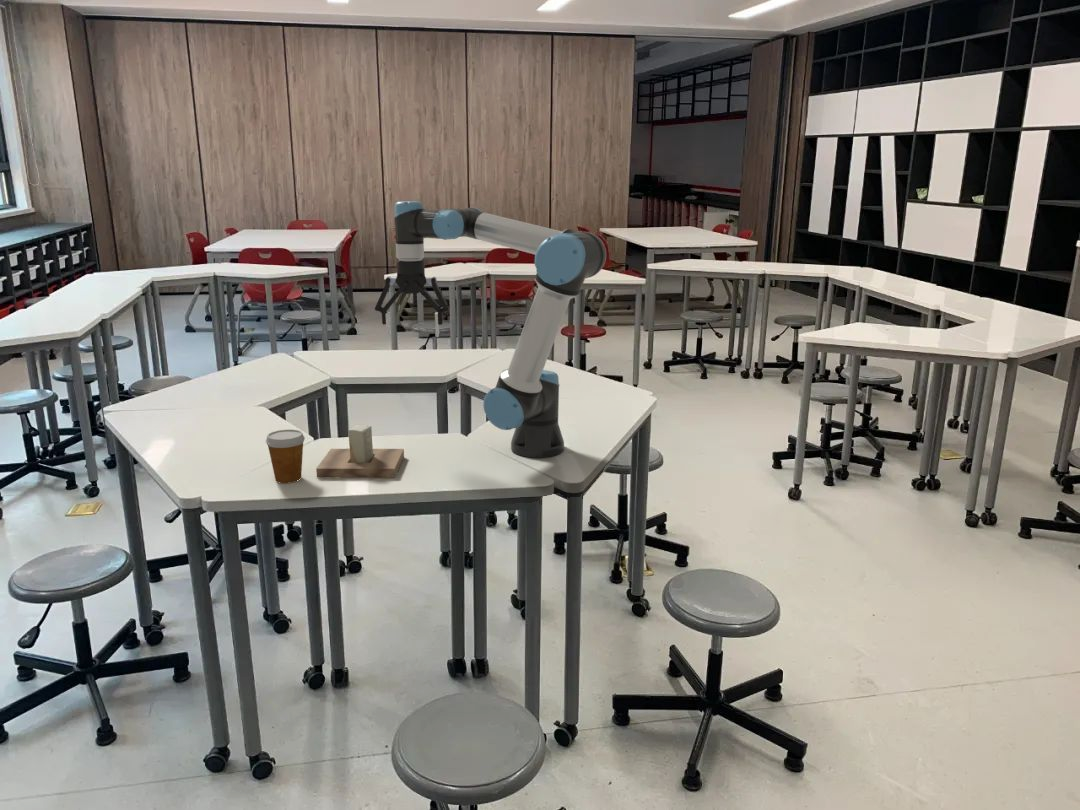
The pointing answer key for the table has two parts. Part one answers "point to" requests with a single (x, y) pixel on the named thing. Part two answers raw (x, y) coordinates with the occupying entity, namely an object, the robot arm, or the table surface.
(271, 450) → the disposable coffee cup
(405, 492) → the table surface
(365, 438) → the box
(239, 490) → the table surface
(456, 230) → the robot arm
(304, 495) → the table surface
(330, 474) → the socket block
